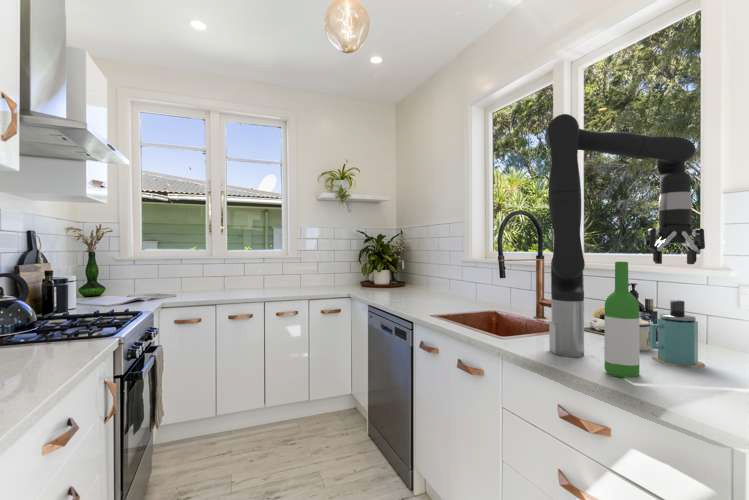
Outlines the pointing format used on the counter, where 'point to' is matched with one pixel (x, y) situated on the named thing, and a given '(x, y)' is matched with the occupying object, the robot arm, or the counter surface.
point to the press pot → (676, 341)
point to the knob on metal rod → (677, 312)
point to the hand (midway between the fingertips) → (674, 264)
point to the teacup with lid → (644, 334)
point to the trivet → (679, 365)
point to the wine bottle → (622, 328)
